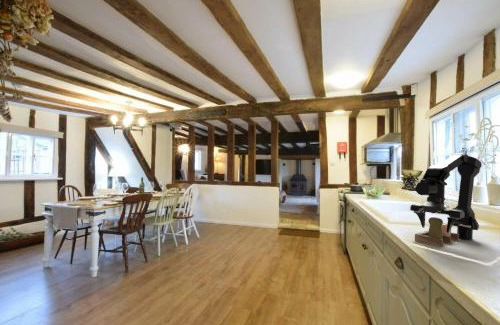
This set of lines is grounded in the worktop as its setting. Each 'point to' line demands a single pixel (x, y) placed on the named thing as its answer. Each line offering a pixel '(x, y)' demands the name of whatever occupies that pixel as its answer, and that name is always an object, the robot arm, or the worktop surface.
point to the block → (445, 230)
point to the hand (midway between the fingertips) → (435, 230)
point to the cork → (435, 227)
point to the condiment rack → (436, 239)
